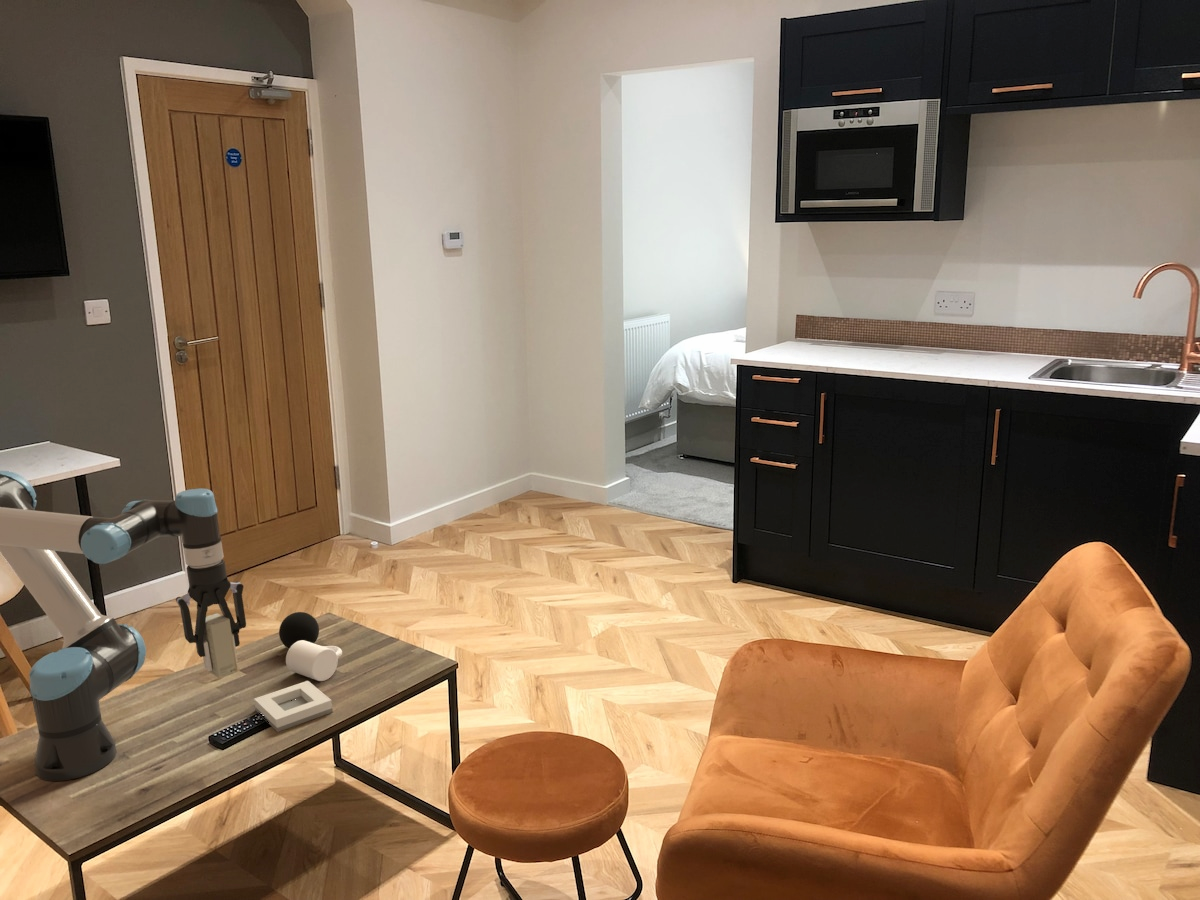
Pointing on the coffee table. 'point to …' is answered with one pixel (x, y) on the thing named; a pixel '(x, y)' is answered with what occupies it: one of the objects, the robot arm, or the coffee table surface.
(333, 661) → the mug
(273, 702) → the socket block
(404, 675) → the coffee table surface
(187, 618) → the robot arm
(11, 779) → the coffee table surface
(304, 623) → the decorative ball
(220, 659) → the skincare box
